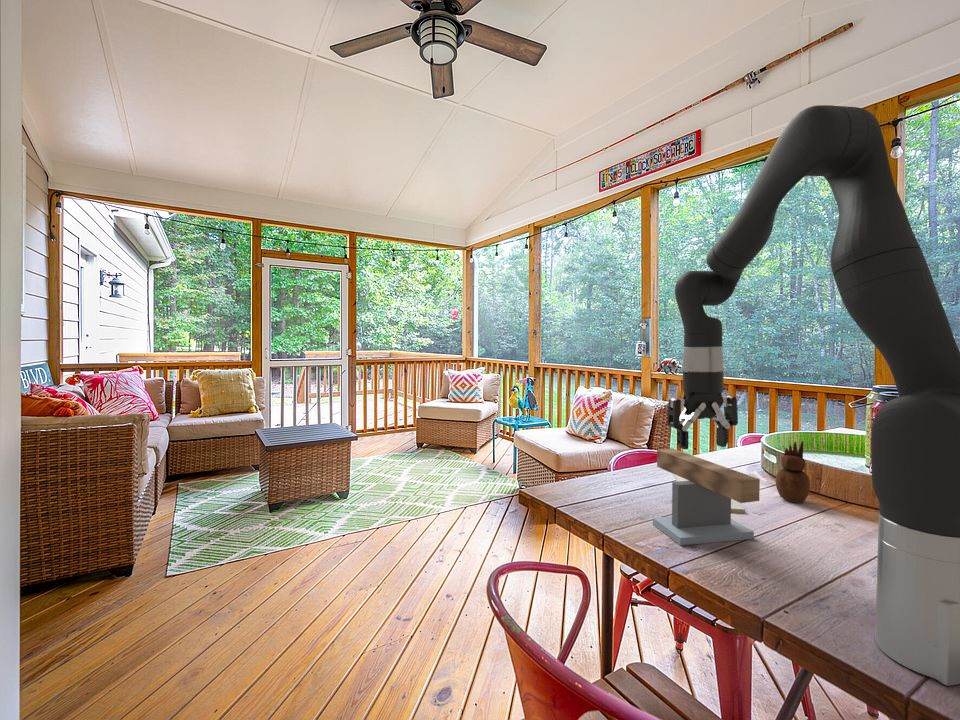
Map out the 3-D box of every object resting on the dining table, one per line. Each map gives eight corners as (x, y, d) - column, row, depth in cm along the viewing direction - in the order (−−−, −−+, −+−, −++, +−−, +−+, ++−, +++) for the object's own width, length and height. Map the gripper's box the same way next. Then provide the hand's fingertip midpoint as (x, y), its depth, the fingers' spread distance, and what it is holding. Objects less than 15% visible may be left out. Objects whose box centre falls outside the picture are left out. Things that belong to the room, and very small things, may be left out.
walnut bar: (657, 466, 104) (657, 449, 104) (671, 465, 105) (672, 448, 105) (741, 503, 81) (741, 481, 80) (759, 500, 82) (759, 479, 81)
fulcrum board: (753, 538, 90) (754, 487, 89) (680, 545, 87) (680, 492, 87) (719, 518, 99) (720, 472, 99) (652, 524, 97) (653, 476, 97)
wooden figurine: (814, 503, 108) (816, 441, 107) (798, 506, 106) (800, 443, 105) (786, 494, 114) (787, 436, 114) (770, 497, 112) (771, 438, 112)
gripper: (721, 367, 97) (721, 441, 97) (660, 368, 94) (660, 445, 95) (747, 369, 89) (746, 449, 90) (681, 371, 87) (681, 453, 88)
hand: (702, 447), depth 92 cm, fingers open, 8 cm apart
